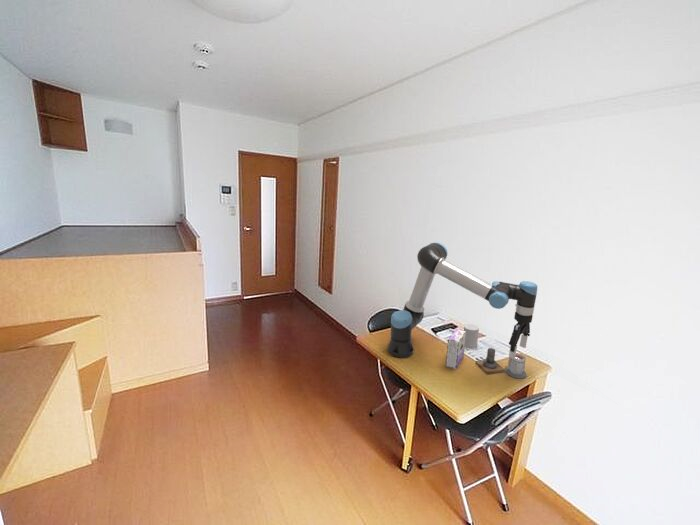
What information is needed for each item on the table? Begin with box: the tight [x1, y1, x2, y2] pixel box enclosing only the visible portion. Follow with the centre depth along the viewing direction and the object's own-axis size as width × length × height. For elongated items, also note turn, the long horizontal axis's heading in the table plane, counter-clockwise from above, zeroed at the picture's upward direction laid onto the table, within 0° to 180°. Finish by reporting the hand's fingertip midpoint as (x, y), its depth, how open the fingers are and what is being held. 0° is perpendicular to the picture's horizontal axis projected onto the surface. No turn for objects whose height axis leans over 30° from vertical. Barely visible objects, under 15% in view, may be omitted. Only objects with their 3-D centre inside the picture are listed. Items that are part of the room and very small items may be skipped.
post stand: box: [475, 347, 505, 375], centre depth 161 cm, size 10×10×10 cm
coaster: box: [504, 365, 528, 380], centre depth 157 cm, size 10×10×1 cm
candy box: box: [445, 328, 466, 370], centre depth 166 cm, size 14×6×16 cm, turn 145°
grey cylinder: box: [507, 352, 527, 376], centre depth 156 cm, size 7×7×9 cm
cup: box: [463, 323, 480, 350], centre depth 183 cm, size 8×8×12 cm
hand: (517, 351), depth 155 cm, fingers open, 13 cm apart
